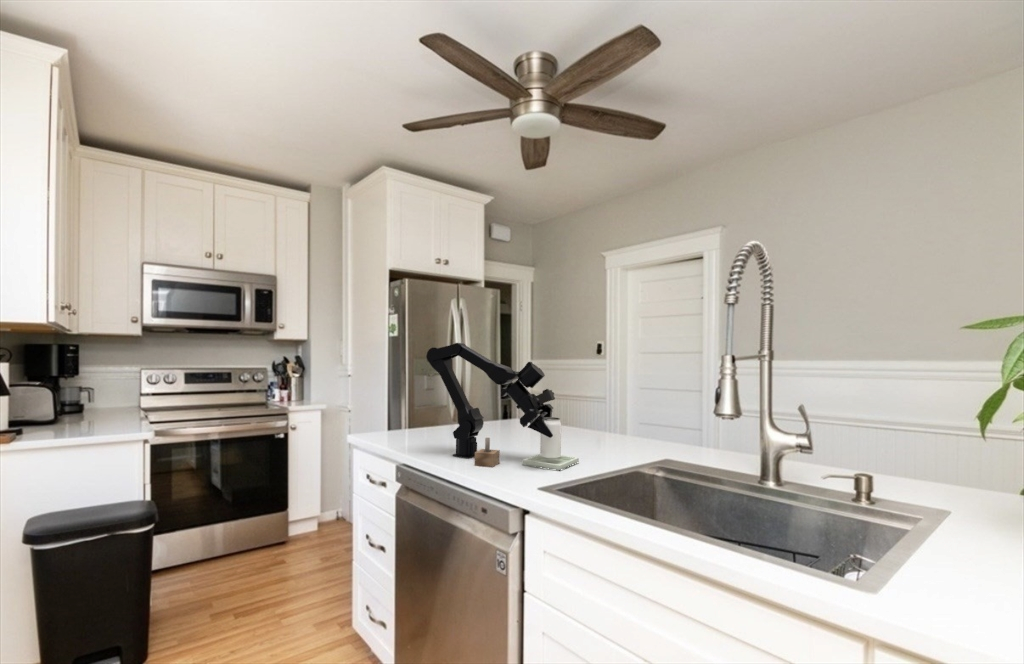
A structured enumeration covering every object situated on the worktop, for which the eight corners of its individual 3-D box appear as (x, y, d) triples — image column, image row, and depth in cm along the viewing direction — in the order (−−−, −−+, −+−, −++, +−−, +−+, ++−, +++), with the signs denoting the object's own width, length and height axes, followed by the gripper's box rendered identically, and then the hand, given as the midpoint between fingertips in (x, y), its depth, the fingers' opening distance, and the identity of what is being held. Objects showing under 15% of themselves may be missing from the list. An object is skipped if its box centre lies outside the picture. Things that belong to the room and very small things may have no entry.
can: (548, 453, 158) (548, 416, 158) (564, 456, 154) (565, 418, 154) (536, 456, 153) (536, 418, 153) (552, 460, 149) (553, 420, 149)
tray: (522, 465, 151) (522, 459, 151) (542, 457, 162) (542, 453, 162) (560, 471, 144) (560, 465, 144) (578, 463, 155) (578, 458, 155)
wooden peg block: (474, 465, 150) (475, 438, 150) (481, 461, 155) (482, 435, 156) (492, 467, 148) (493, 440, 148) (499, 463, 153) (499, 437, 154)
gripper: (530, 382, 147) (565, 422, 142) (548, 379, 164) (579, 414, 160) (505, 407, 149) (539, 446, 145) (525, 401, 167) (555, 436, 162)
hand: (554, 435), depth 153 cm, fingers closed on can, 6 cm apart
